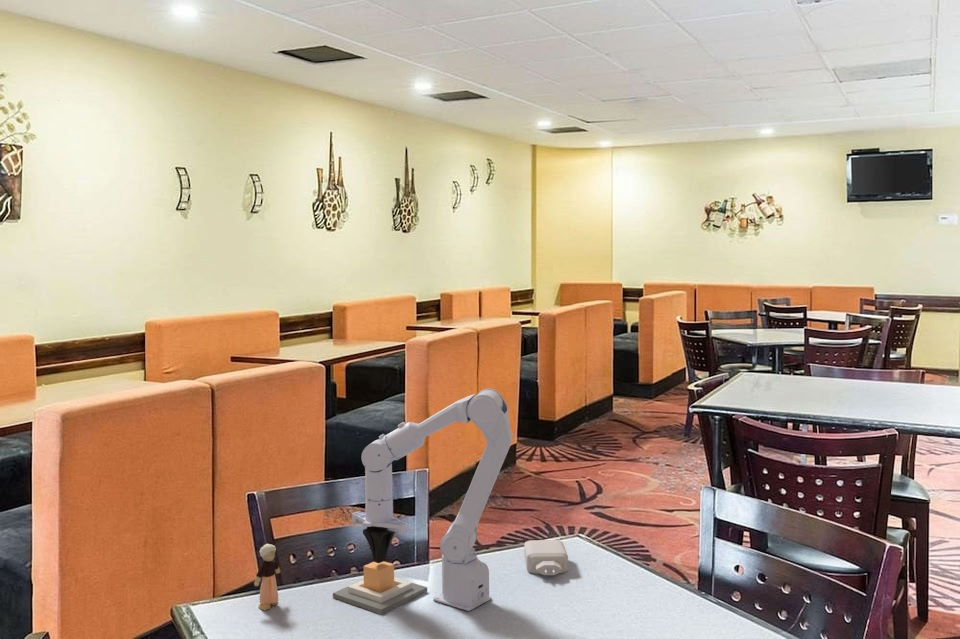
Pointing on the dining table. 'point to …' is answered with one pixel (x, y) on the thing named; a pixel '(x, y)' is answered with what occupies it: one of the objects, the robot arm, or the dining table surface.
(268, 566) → the grandmother figurine
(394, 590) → the socket plate
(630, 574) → the dining table surface
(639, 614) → the dining table surface
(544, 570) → the charger
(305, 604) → the dining table surface
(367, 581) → the block
